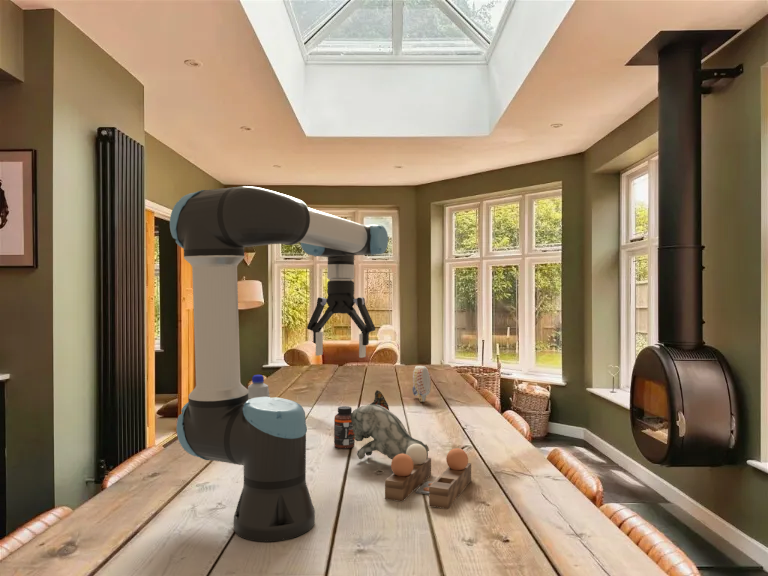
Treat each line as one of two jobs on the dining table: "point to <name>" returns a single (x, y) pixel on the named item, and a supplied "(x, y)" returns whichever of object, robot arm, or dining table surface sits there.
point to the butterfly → (380, 400)
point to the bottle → (258, 387)
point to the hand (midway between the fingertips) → (340, 356)
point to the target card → (424, 488)
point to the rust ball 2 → (457, 459)
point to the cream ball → (417, 453)
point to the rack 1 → (407, 482)
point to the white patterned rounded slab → (421, 382)
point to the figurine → (381, 431)
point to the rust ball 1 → (402, 465)
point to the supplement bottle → (343, 428)
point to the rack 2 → (448, 487)
